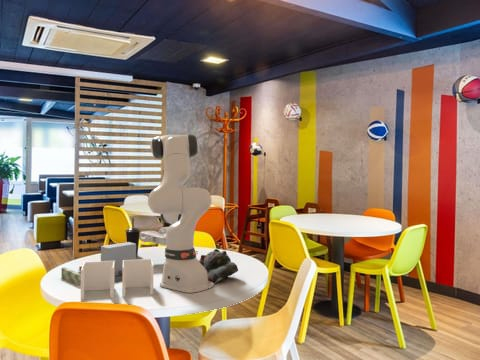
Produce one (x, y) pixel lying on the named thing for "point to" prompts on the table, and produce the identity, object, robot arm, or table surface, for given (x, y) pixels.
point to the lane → (72, 275)
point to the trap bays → (116, 277)
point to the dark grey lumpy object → (218, 265)
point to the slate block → (118, 254)
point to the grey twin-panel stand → (103, 275)
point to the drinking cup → (133, 235)
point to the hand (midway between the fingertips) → (142, 239)
